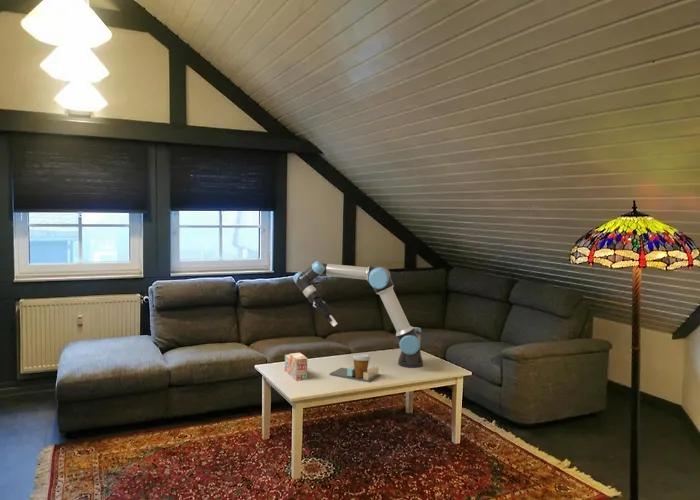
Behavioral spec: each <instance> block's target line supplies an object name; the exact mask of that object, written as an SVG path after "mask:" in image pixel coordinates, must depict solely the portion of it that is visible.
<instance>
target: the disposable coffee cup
mask: <svg viewBox="0 0 700 500" xmlns="http://www.w3.org/2000/svg"><path fill="white" fill-rule="evenodd" d="M352 359H353V366H354V370H355V377H358V378H363V373H364V372H365V371H366V370H368V369H369V367H368V366H369V362H370V354H369V353H364V352H359V353H354V354H353V356H352Z"/></svg>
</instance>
